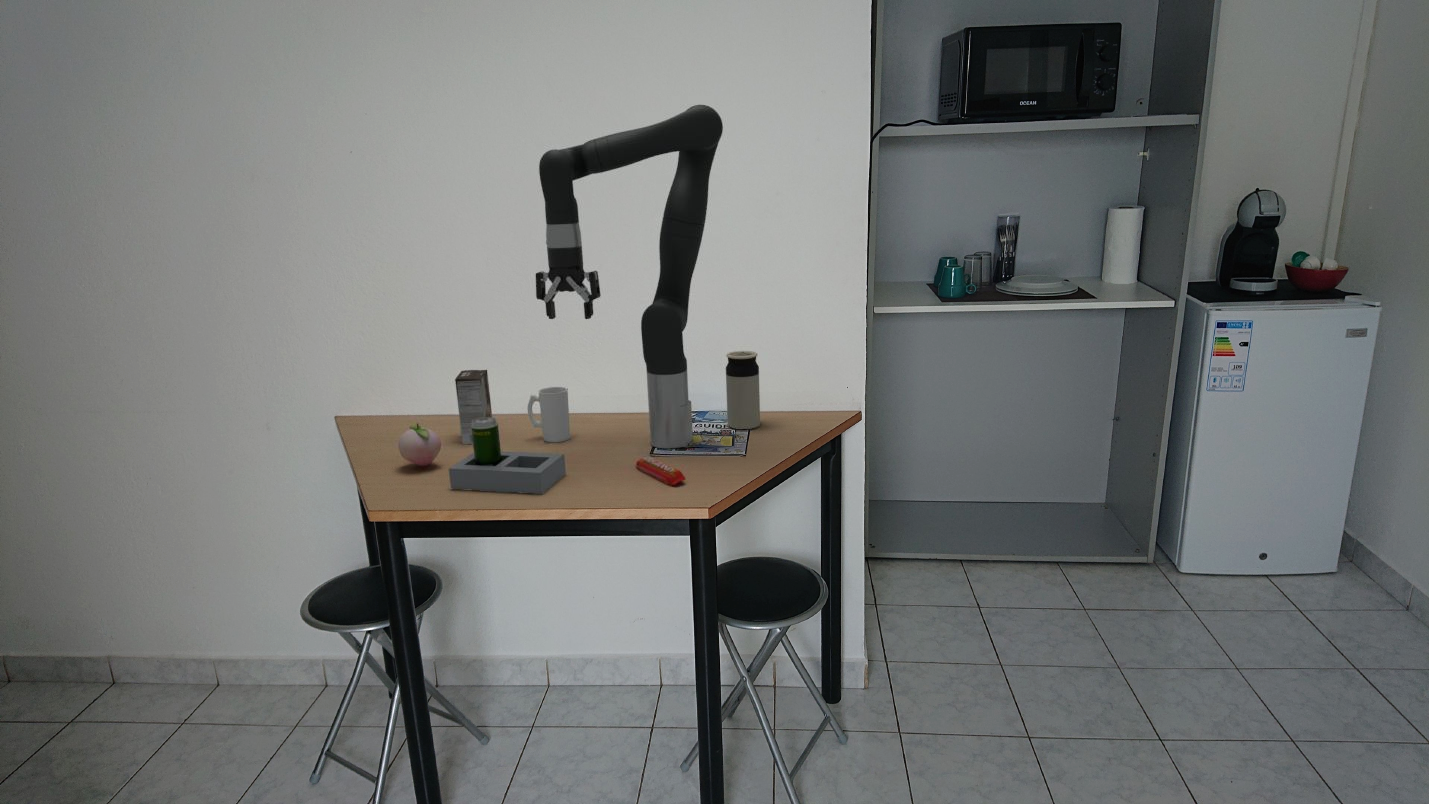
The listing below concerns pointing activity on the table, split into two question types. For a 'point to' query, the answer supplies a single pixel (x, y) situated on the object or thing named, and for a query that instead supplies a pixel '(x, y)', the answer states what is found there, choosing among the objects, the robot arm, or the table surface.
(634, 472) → the table surface
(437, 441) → the decorative fruit
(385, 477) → the table surface
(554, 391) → the mug
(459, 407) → the coffee box
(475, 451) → the beer can
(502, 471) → the drink caddy
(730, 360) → the travel mug
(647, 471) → the candy bar
